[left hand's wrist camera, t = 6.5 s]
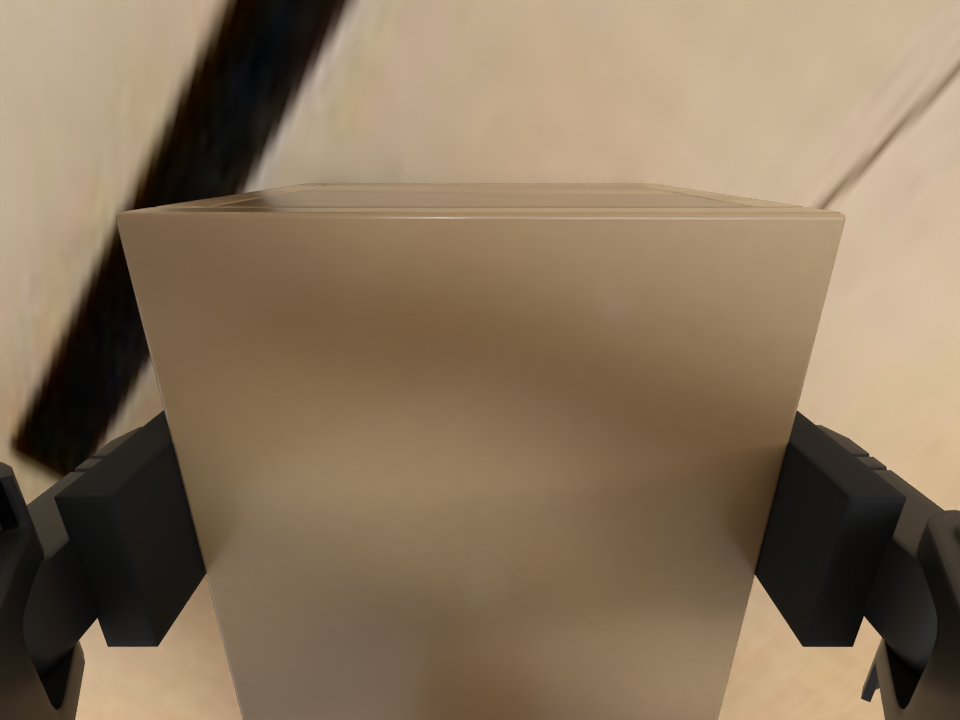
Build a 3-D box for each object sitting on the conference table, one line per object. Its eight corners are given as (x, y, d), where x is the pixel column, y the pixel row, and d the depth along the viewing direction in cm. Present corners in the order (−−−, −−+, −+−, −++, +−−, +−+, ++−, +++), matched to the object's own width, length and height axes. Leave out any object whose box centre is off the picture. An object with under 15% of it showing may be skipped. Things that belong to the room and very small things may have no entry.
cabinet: (593, 708, 22) (650, 987, 15) (366, 708, 22) (309, 986, 15) (656, 183, 14) (850, 212, 7) (304, 183, 14) (111, 213, 7)
